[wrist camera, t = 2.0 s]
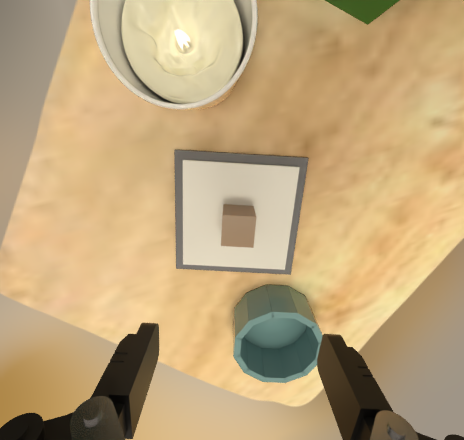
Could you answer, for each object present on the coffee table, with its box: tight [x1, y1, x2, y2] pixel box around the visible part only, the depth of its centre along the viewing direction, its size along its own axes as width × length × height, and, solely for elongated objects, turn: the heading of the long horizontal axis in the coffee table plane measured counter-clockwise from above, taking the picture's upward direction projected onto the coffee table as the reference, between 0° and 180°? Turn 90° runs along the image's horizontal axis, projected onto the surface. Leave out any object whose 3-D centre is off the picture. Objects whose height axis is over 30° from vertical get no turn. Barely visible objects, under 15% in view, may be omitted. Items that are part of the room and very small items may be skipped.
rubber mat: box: [175, 150, 308, 275], centre depth 32 cm, size 15×15×1 cm
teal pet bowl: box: [233, 285, 323, 383], centre depth 34 cm, size 11×11×6 cm
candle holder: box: [90, 0, 258, 109], centre depth 21 cm, size 10×10×12 cm
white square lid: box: [183, 160, 300, 270], centre depth 29 cm, size 13×13×5 cm
